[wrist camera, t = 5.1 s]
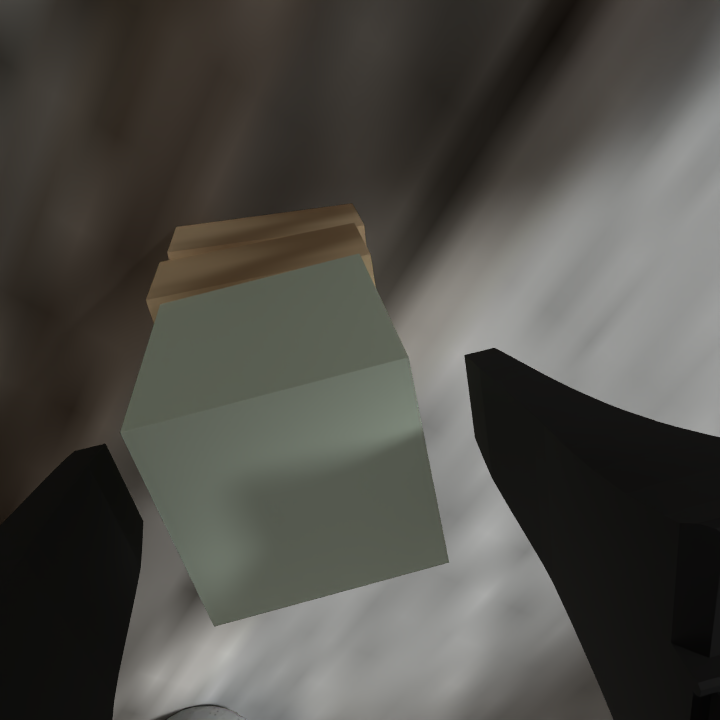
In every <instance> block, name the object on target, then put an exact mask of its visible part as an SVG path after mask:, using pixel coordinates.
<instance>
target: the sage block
mask: <svg viewBox="0 0 720 720" xmlns="http://www.w3.org/2000/svg"><path fill="white" fill-rule="evenodd" d="M120 434H121V436H122V438H123V440H124V442H125V444H126V446H127V448H128V450H129V452H130V454H131V456H132V458H133V460H134V463H135V465H136V467H137V469H138V471H139V473H140V475H141V477H142V479H143V481H144V483H145V485H146V487H147V489H148V491H149V493H150V495H151V498H152V500H153V502H154V504H155V506H156V508H157V510H158V512H159V514H160V516H161V518H162V520H163V522H164V524H165V526H166V528H167V530H168V532H169V535H170V537H171V539H172V541H173V543H174V545H175V547H176V549H177V551H178V553H179V555H180V557H181V559H182V561H183V563H184V565H185V567H186V570H187V572H188V574H189V576H190V578H191V580H192V582H193V584H194V586H195V588H196V590H197V592H198V594H199V596H200V598H201V600H202V602H203V605H204V607H205V609H206V611H207V613H208V615H209V617H210V619H211V621H212V623H213V625H214V626H218V625H222V624H225V623H229V622H233V621H236V620H240V619H244V618H247V617H251V616H255V615H258V614H262V613H266V612H269V611H273V610H277V609H280V608H284V607H288V606H291V605H295V604H299V603H302V602H306V601H310V600H313V599H317V598H321V597H324V596H328V595H332V594H335V593H339V592H343V591H346V590H350V589H354V588H357V587H361V586H365V585H368V584H372V583H376V582H379V581H383V580H387V579H390V578H394V577H398V576H401V575H405V574H409V573H412V572H416V571H420V570H423V569H427V568H431V567H434V566H438V565H442V564H445V563H449V560H448V555H447V550H446V545H445V540H444V535H443V530H442V525H441V520H440V514H439V509H438V504H437V499H436V494H435V489H434V484H433V479H432V474H431V469H430V464H429V459H428V454H427V449H426V444H425V439H424V433H423V428H422V423H421V418H420V413H419V408H418V403H417V398H416V393H415V388H414V383H413V378H412V373H411V368H410V363H409V358H408V355H407V353H406V351H405V349H404V347H403V345H402V343H401V340H400V338H399V336H398V334H397V332H396V330H395V328H394V326H393V323H392V321H391V319H390V317H389V315H388V313H387V311H386V309H385V307H384V304H383V302H382V300H381V298H380V296H379V294H378V292H377V290H376V287H375V285H374V283H373V281H372V279H371V277H370V275H369V273H368V271H367V268H366V266H365V264H364V262H363V260H362V258H361V256H360V254H355V255H351V256H347V257H343V258H339V259H335V260H331V261H327V262H324V263H320V264H316V265H312V266H308V267H304V268H301V269H297V270H293V271H289V272H285V273H281V274H277V275H273V276H269V277H265V278H261V279H257V280H253V281H250V282H246V283H242V284H238V285H234V286H230V287H226V288H222V289H218V290H214V291H210V292H206V293H202V294H199V295H195V296H191V297H187V298H183V299H179V300H175V301H171V302H167V303H163V304H160V306H159V310H158V313H157V316H156V319H155V322H154V326H153V329H152V332H151V335H150V338H149V342H148V345H147V348H146V351H145V354H144V358H143V361H142V364H141V367H140V370H139V373H138V377H137V380H136V383H135V386H134V389H133V393H132V396H131V399H130V402H129V405H128V409H127V412H126V415H125V418H124V421H123V424H122V428H121V431H120Z"/></svg>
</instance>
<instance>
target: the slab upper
mask: <svg viewBox="0 0 720 720" xmlns="http://www.w3.org/2000/svg"><path fill="white" fill-rule="evenodd" d="M355 254H360V256H361V258H362V260H363V262H364V264H365V266H366V268H367V271H368V273H369V275H370V277H371V279H372V281H373V283H374V285H375V280H374V274H373V267H372V261H371V255H370V252H369V250H368V248H367V246H366V245H365V243H364V241H363V239H362V237H361V235H360V233H359V231H358V229H357V227H356V225H355V223H350V224H345V225H340V226H336V227H331V228H326V229H321V230H316V231H311V232H306V233H301V234H296V235H292V236H287V237H282V238H277V239H272V240H267V241H262V242H257V243H252V244H247V245H242V246H237V247H232V248H227V249H222V250H217V251H212V252H207V253H202V254H198V255H193V256H188V257H183V258H178V259H173V260H168V261H163V262H160V263H159V265H158V268H157V271H156V274H155V276H154V279H153V282H152V284H151V287H150V290H149V293H148V295H147V298H146V302H147V305H148V308H149V311H150V314H151V317H152V320H153V322H155V319H156V316H157V313H158V310H159V306H160V304H163V303H167V302H171V301H175V300H179V299H183V298H187V297H191V296H195V295H199V294H202V293H206V292H210V291H214V290H218V289H222V288H226V287H230V286H234V285H238V284H242V283H246V282H250V281H253V280H257V279H261V278H265V277H269V276H273V275H277V274H281V273H285V272H289V271H293V270H297V269H301V268H304V267H308V266H312V265H316V264H320V263H324V262H327V261H331V260H335V259H339V258H343V257H347V256H351V255H355ZM375 287H376V286H375Z"/></svg>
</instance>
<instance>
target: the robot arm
mask: <svg viewBox="0 0 720 720" xmlns="http://www.w3.org/2000/svg"><path fill="white" fill-rule="evenodd" d="M464 356H465V363H466V371H467V379H468V387H469V395H470V402H471V410H472V418H473V426H474V433H475V439H476V441H477V444H478V446H479V449H480V451H481V453H482V456H483V458H484V461H485V463H486V465H487V468H488V470H489V472H490V474H491V477H492V479H493V481H494V482H495V484H496V486H497V487H498V489H499V491H500V493H501V494H502V496H503V498H504V499H505V501H506V503H507V505H508V506H509V508H510V510H511V511H512V513H513V515H514V516H515V518H516V520H517V521H518V523H519V525H520V526H521V528H522V530H523V531H524V533H525V535H526V536H527V538H528V540H529V541H530V543H531V545H532V546H533V548H534V550H535V551H536V553H537V555H538V556H539V558H540V560H541V562H542V563H543V565H544V567H545V569H546V571H547V572H548V574H549V576H550V578H551V580H552V582H553V584H554V586H555V588H556V590H557V592H558V594H559V596H560V599H561V601H562V603H563V605H564V607H565V610H566V612H567V614H568V616H569V618H570V620H571V623H572V625H573V627H574V629H575V631H576V634H577V636H578V638H579V640H580V643H581V645H582V647H583V649H584V652H585V654H586V656H587V659H588V661H589V663H590V665H591V668H592V670H593V672H594V674H595V677H596V679H597V681H598V684H599V686H600V688H601V691H602V693H603V696H604V698H605V700H606V703H607V705H608V707H609V710H610V712H611V715H612V717H613V719H614V720H720V437H716V436H711V435H707V434H703V433H699V432H695V431H691V430H687V429H683V428H679V427H675V426H671V425H668V424H664V423H661V422H658V421H655V420H652V419H649V418H646V417H643V416H640V415H637V414H634V413H631V412H628V411H625V410H622V409H619V408H617V407H614V406H611V405H609V404H607V403H604V402H602V401H600V400H597V399H595V398H592V397H590V396H588V395H585V394H583V393H581V392H579V391H577V390H574V389H572V388H570V387H568V386H566V385H564V384H562V383H560V382H558V381H556V380H554V379H552V378H550V377H548V376H546V375H544V374H542V373H540V372H539V371H537V370H535V369H533V368H531V367H529V366H527V365H526V364H524V363H522V362H520V361H518V360H516V359H515V358H513V357H511V356H509V355H507V354H505V353H504V352H502V351H500V350H498V349H496V348H492V349H488V350H484V351H480V352H475V353H471V354H467V355H464ZM142 538H143V520H142V518H141V516H140V514H139V512H138V510H137V508H136V506H135V503H134V501H133V499H132V497H131V495H130V493H129V491H128V489H127V487H126V485H125V483H124V481H123V479H122V477H121V475H120V473H119V471H118V468H117V466H116V464H115V462H114V460H113V458H112V456H111V454H110V452H109V450H108V448H107V446H106V444H102V445H98V446H94V447H90V448H86V449H82V450H78V451H74V452H73V453H72V454H71V455H70V456H68V457H67V458H66V459H65V460H64V461H63V462H62V463H61V464H60V465H59V466H58V467H57V468H56V469H55V470H54V471H53V472H52V473H51V474H50V475H49V476H48V477H47V478H46V479H45V480H44V481H43V482H42V483H41V484H40V485H39V486H38V487H37V488H36V489H35V490H34V491H33V492H32V493H31V494H30V495H29V497H28V498H27V499H26V500H25V501H24V502H23V503H22V504H21V505H20V506H19V507H18V508H17V509H16V510H15V511H14V512H13V513H12V514H11V515H10V516H9V517H8V518H7V519H6V520H5V521H4V522H3V523H2V524H1V525H0V720H112V717H113V707H114V698H115V692H116V686H117V680H118V674H119V670H120V665H121V660H122V655H123V651H124V646H125V641H126V637H127V632H128V627H129V623H130V618H131V613H132V608H133V604H134V599H135V594H136V589H137V584H138V579H139V573H140V568H141V556H142Z"/></svg>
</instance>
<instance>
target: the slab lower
mask: <svg viewBox="0 0 720 720" xmlns="http://www.w3.org/2000/svg"><path fill="white" fill-rule="evenodd" d="M350 223H355V225H356V227H357V229H358V231H359V233H360V235H361V237H362V239H363V241H364V243H365V245H366V238H365V227H364V224H363V222H362V220H361V218H360V217H359V215H358V213H357V211H356V209H355V207H354V206H353V204H352V203H351V204H344V205H336V206H329V207H321V208H314V209H306V210H299V211H291V212H284V213H276V214H269V215H262V216H254V217H247V218H239V219H232V220H224V221H217V222H209V223H202V224H194V225H187V226H179V227H176V229H175V232H174V235H173V237H172V240H171V243H170V246H169V249H168V252H167V253H168V257H169V260H173V259H178V258H183V257H188V256H193V255H198V254H202V253H207V252H212V251H217V250H222V249H227V248H232V247H237V246H242V245H247V244H252V243H257V242H262V241H267V240H272V239H277V238H282V237H287V236H292V235H296V234H301V233H306V232H311V231H316V230H321V229H326V228H331V227H336V226H340V225H345V224H350Z"/></svg>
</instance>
